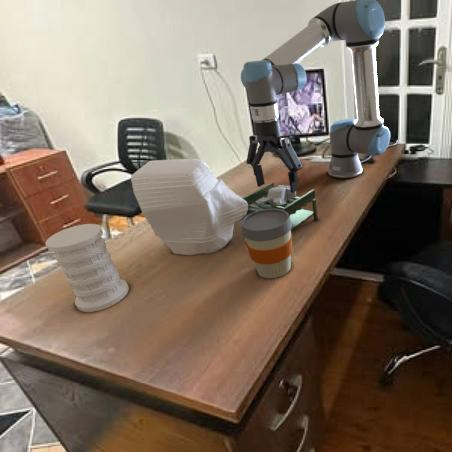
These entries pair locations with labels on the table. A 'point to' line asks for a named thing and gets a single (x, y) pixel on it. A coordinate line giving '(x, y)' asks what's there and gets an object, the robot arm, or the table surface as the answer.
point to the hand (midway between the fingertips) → (277, 188)
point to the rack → (285, 205)
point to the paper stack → (187, 205)
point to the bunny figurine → (278, 195)
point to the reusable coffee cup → (269, 241)
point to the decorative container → (88, 267)
